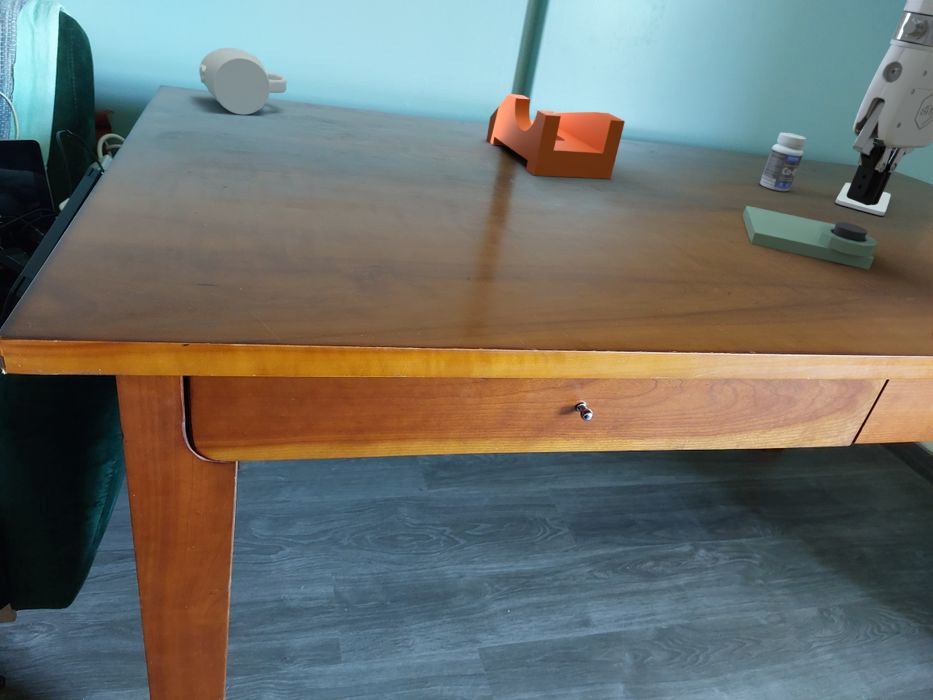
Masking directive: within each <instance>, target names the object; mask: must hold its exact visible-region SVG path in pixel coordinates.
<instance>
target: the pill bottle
mask: <svg viewBox="0 0 933 700" xmlns="http://www.w3.org/2000/svg"><path fill="white" fill-rule="evenodd" d="M806 141H807V138H806V137H805V136H803V135H799V134H796V133H792V132H782V131H781V132H780V133H779V134H778V137H777V140H776V142H777V143H775V144H773V145H772V147H771V150H770V152H769V156H768V158H767V160H766V163H765V166H764V169H763V172H762V175H761V177H760V180H759V184H760V185H761V186H762V187H764V188H766V189H769V190H773V191H777V192H789V191H790V190H791V187H792V184H793V182H794V179H795V176H796V175H797V171H798V168H799V166H800V163H801V161H802V159H803V156H804V150H802V148H804V146H805V143H806Z"/></svg>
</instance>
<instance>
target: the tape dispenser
mask: <svg viewBox="0 0 933 700" xmlns="http://www.w3.org/2000/svg"><path fill="white" fill-rule="evenodd" d="M530 103H531V98H529V97H527V96H526V95H523V94H516V93H515V94H513V93H508V94H507V96H506V97H505V98H504V99H503V100H502V101H501V103H500V104H499V106H498V107H497V108H496V109H495V110H494V112H493V113H492V114H491V115H490V117H489V122H488V129H487V135H486V141H487V142H488V143H489V144H491V145H492V146H503V147H507V148H508V147H509V148H510V149H511V150H512V151H514V152H515V153H517V154H518V155H520V156H521V157H522V158H523V159H525V160H527V162H526V167H525V170H526V171H527V172H529V173H530V174H531V175H532V176H536V177H537V176H538V177H539V176H541V177H560V178H561V177H562V178H585V179H604V180H605V179H608V180H609V179H610V180H611V178H612V175H613V170H614V167H615V162H616V160H617V159H616V158H617V155H618V150H619V147H620V143H621V139H622V135H623V131H624V128H625V123H626V122H625V120H624V119H621V118H619V117H617V116H615V115H613V114H611V113H609V112H600V111H581V112H579V111H578V112H573V111H572V112H554V111H552V110H541V109H536V114H535V117H534V119H531V117H530V105H531V104H530Z"/></svg>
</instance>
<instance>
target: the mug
mask: <svg viewBox="0 0 933 700" xmlns="http://www.w3.org/2000/svg"><path fill="white" fill-rule="evenodd" d="M198 73H199V77H200V83H201V84H203V85H204V86H205V87H206V89H207V90H208V92H209V94H210V95H211V96H212V97H213V98H214V99H215V100H216V101H217V102H218V103H219V105H221V106H222V107H223V108H224V109H225V110H227V111H229V112H230V113H233V114H236V115H244V116H245V115H250V114H254V113H256V112H258V111H259V110H261V109H262V108H263V107H264V106H265V104H266V103H267V101H268V99H269V97H270V94H282V93H285V92H286V91H287V78H286V77H285V76H283V75H281V74H279V73H275V72H270V71H266V69H265V67H264V65H263V63H262V61H261V60H260V59H259V58H258V57H257V56H255V55H253V54H252V53H249V52H247V51H245V50H243V49H240V48H235V47H222V48H217V49H214V50H212V51H210V52H209V53H207V54H206V55H205V56H204V57H203V58H202V60H201V61H200V65H199V72H198Z"/></svg>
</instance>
